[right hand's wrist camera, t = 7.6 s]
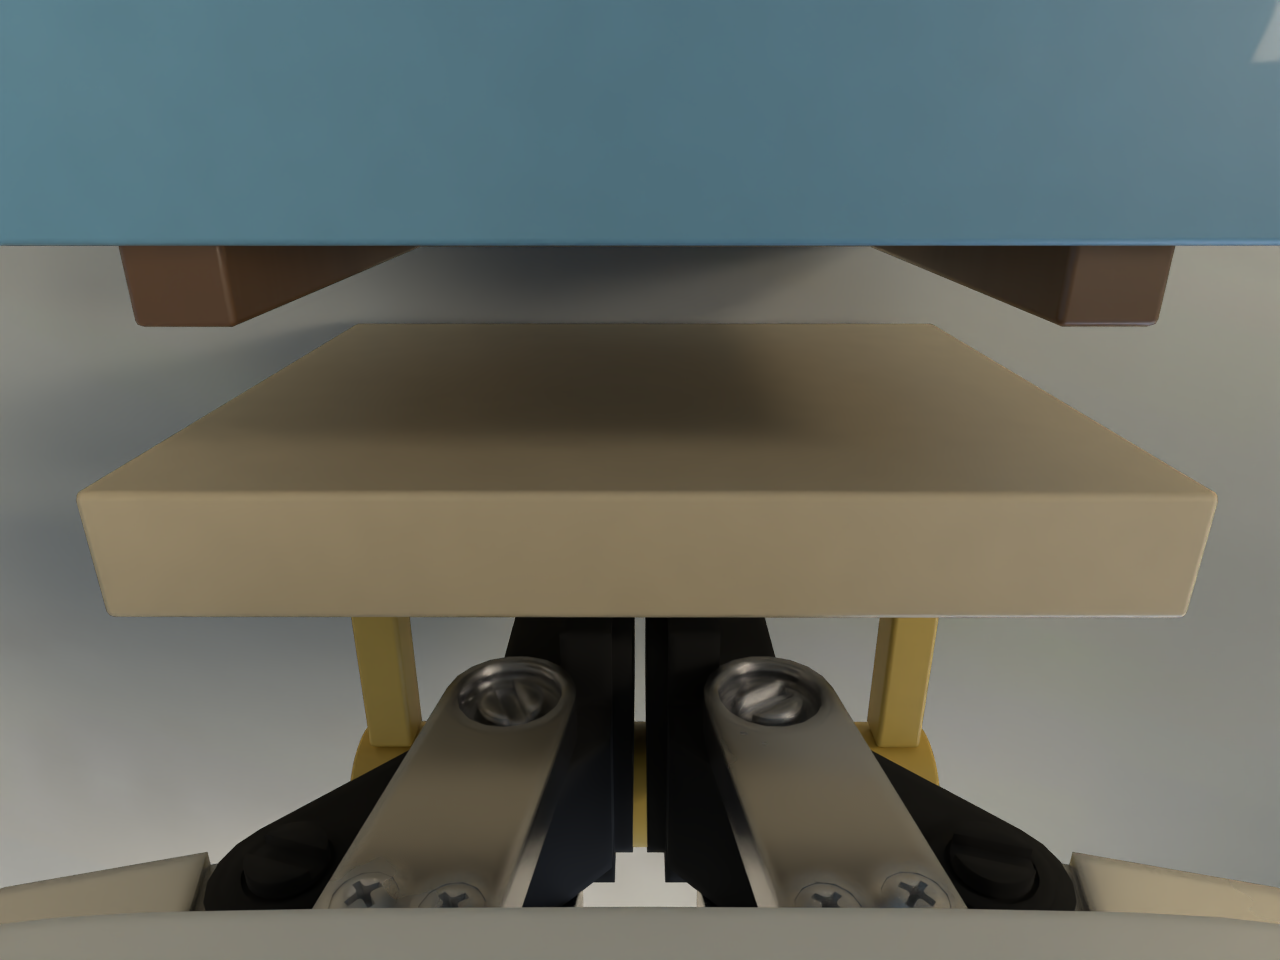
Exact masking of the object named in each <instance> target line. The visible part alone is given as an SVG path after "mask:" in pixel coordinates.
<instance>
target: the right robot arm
mask: <svg viewBox="0 0 1280 960" xmlns="http://www.w3.org/2000/svg"><path fill="white" fill-rule="evenodd" d="M634 689H635V617H515V621H514V624H513V628H512V632H511V636H510V639H509V643H508V647H507V650H506V654H505V657H504V658H499V659H493V660H489V661H486V662H484V663H481V664H478V665H476V666H473V667H471V668H469V669H468V670H466V671H465V672H463V673H462V674H460V675H458V676H457V677H456V678H455V680H454V681H453V682H452V683H451V684H450V685H449V686H448V687H447V689H446V691H445V692H444V694H443V696H442V697H441V699H440V700H439V702H438V704H437V705H436V707H435V709H434V710H433V712H432V714H431V715H430V717H429V718H428V720H427V722H426V723H425V725H424V727H423V728H422V730H421V732H420V733H419V735H418V736H417V738H416V740H415V741H414V743H413V745H412V746H411V748H410V750H408V751H406V752H404V753H402V754H401V755H399V756H397V757H395V758H393V759H391V760H389V761H387V762H386V763H384V764H382V765H380V766H378V767H376V768H374V769H372V770H371V771H369V772H367V773H365V774H363V775H361V776H359V777H357V778H355V779H354V780H352V781H350V782H348V783H346V784H344V785H342V786H340V787H339V788H337V789H335V790H333V791H331V792H329V793H327V794H325V795H324V796H322V797H320V798H318V799H316V800H314V801H312V802H310V803H309V804H307V805H305V806H303V807H301V808H299V809H297V810H295V811H294V812H292V813H290V814H288V815H286V816H284V817H282V818H280V819H279V820H277V821H275V822H273V823H271V824H269V825H267V826H265V827H264V828H262V829H260V830H258V831H257V832H255V833H254V834H252V835H250V836H249V837H247V838H246V839H244V840H243V841H241V842H240V843H238V844H237V845H236V846H235V847H234V848H233V849H232V850H231V851H230V852H229V853H228V854H227V855H226V856H225V857H224V858H223V859H222V860H221V861H220V862H219V863H218V864H213V865H211V864H210V860H209V856H208V852H204V853H198V854H193V855H187V856H181V857H175V858H170V859H164V860H158V861H152V862H147V863H141V864H135V865H129V866H124V867H118V868H112V869H106V870H101V871H95V872H89V873H84V874H78V875H72V876H66V877H61V878H55V879H49V880H43V881H38V882H32V883H26V884H20V885H15V886H9V887H4V888H1V889H0V960H1280V889H1279V888H1276V887H1271V886H1265V885H1260V884H1254V883H1248V882H1242V881H1237V880H1231V879H1225V878H1219V877H1214V876H1208V875H1202V874H1196V873H1191V872H1185V871H1179V870H1174V869H1168V868H1162V867H1156V866H1151V865H1145V864H1139V863H1133V862H1128V861H1122V860H1116V859H1110V858H1105V857H1099V856H1093V855H1087V854H1082V853H1076V852H1072V856H1071V860H1070V864H1069V865H1067V864H1062V863H1061V862H1060V861H1059V860H1058V859H1057V858H1056V857H1055V856H1054V855H1053V854H1052V853H1051V852H1050V851H1049V850H1048V849H1047V848H1046V847H1045V846H1044V845H1043V844H1042V843H1040V842H1039V841H1037V840H1036V839H1034V838H1033V837H1031V836H1030V835H1028V834H1026V833H1025V832H1023V831H1022V830H1020V829H1018V828H1016V827H1015V826H1013V825H1011V824H1009V823H1007V822H1005V821H1003V820H1001V819H1000V818H998V817H996V816H994V815H992V814H990V813H988V812H986V811H985V810H983V809H981V808H979V807H977V806H975V805H973V804H971V803H970V802H968V801H966V800H964V799H962V798H960V797H958V796H956V795H955V794H953V793H951V792H949V791H947V790H945V789H943V788H941V787H940V786H938V785H936V784H934V783H932V782H930V781H928V780H926V779H925V778H923V777H921V776H919V775H917V774H915V773H913V772H911V771H909V770H908V769H906V768H904V767H902V766H900V765H898V764H896V763H894V762H893V761H891V760H889V759H887V758H885V757H883V756H881V755H879V754H878V753H876V752H874V751H872V750H870V748H869V746H868V745H867V743H866V741H865V740H864V738H863V736H862V735H861V733H860V732H859V730H858V728H857V727H856V725H855V723H854V722H853V720H852V718H851V717H850V715H849V714H848V712H847V710H846V709H845V707H844V705H843V704H842V702H841V700H840V699H839V697H838V696H837V694H836V692H835V691H834V689H833V687H832V686H831V685H830V684H829V683H828V682H827V681H826V680H825V678H824V677H823V676H822V675H820V674H818V673H817V672H815V671H814V670H812V669H811V668H809V667H807V666H804V665H802V664H799V663H796V662H794V661H791V660H787V659H781V658H776V657H775V654H774V651H773V647H772V643H771V639H770V636H769V632H768V628H767V625H766V621H765V617H645V690H646V786H647V852H664V857H665V882H687V883H688V884H690V885H691V886H692V887H693V888H695V889H696V890H697V907H583V890H584V889H585V888H587V887H588V886H589V885H590V884H592V883H593V882H615V857H616V852H633V786H634Z"/></svg>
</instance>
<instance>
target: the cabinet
mask: <svg viewBox="0 0 1280 960" xmlns="http://www.w3.org/2000/svg"><path fill="white" fill-rule="evenodd" d="M0 246H1280V0H0Z"/></svg>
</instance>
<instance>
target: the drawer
mask: <svg viewBox="0 0 1280 960" xmlns="http://www.w3.org/2000/svg"><path fill="white" fill-rule="evenodd" d="M418 247H545V246H119V250H120V255H121V259H122V263H123V268H124V272H125V277H126V281H127V285H128V290H129V294H130V299H131V303H132V308H133V312H134V316H135V321H136V322H137V324H138V325H141V326H144V327H233V326H235V325H238V324H240V323H242V322H245V321H247V320H249V319H252V318H254V317H257V316H259V315H261V314H264V313H266V312H268V311H271V310H273V309H275V308H278V307H280V306H282V305H285V304H287V303H289V302H292V301H294V300H296V299H299V298H301V297H303V296H306V295H308V294H310V293H313V292H315V291H317V290H320V289H322V288H325V287H327V286H329V285H332V284H334V283H336V282H339V281H341V280H343V279H346V278H348V277H350V276H353V275H355V274H357V273H360V272H362V271H364V270H367V269H369V268H371V267H374V266H376V265H378V264H381V263H383V262H385V261H388V260H390V259H393V258H395V257H397V256H400V255H402V254H404V253H407V252H409V251H411V250H414V249H416V248H418ZM870 247H872V248H875V249H877V250H880V251H882V252H884V253H887V254H889V255H892V256H894V257H896V258H899V259H901V260H904V261H906V262H908V263H911V264H913V265H916V266H918V267H920V268H923V269H925V270H928V271H930V272H932V273H935V274H937V275H940V276H942V277H944V278H947V279H949V280H952V281H954V282H956V283H959V284H961V285H964V286H966V287H968V288H971V289H973V290H976V291H978V292H980V293H983V294H985V295H988V296H990V297H992V298H995V299H997V300H1000V301H1002V302H1004V303H1007V304H1009V305H1012V306H1014V307H1016V308H1019V309H1021V310H1024V311H1026V312H1028V313H1031V314H1033V315H1036V316H1038V317H1040V318H1043V319H1045V320H1048V321H1050V322H1052V323H1055V324H1057V325H1060V326H1062V327H1147V326H1150V325H1153V324H1156V322H1157V320H1158V318H1159V314H1160V309H1161V305H1162V301H1163V296H1164V292H1165V288H1166V284H1167V279H1168V275H1169V271H1170V266H1171V262H1172V258H1173V253H1174V249H1175V246H870ZM76 502H77V505H78V509H79V513H80V516H81V520H82V524H83V527H84V531H85V534H86V538H87V542H88V545H89V549H90V553H91V556H92V560H93V563H94V567H95V571H96V574H97V578H98V582H99V585H100V589H101V592H102V596H103V600H104V603H105V607H106V611H107V612H108V613H109V615H111V616H114V617H351V619H352V626H353V632H354V639H355V646H356V652H357V659H358V666H359V672H360V679H361V686H362V692H363V699H364V706H365V712H366V719H367V726H368V727H367V729H366V730H365V732H364V734H363V736H362V738H361V740H360V743H359V746H358V748H357V752H356V755H355V759H354V763H353V768H352V774H351V781H352V780H354V779H355V778H357V777H359V776H361V775H363V774H365V773H367V772H369V771H371V770H372V769H374V768H376V767H378V766H380V765H382V764H384V763H386V762H387V761H389V760H391V759H393V758H395V757H397V756H399V755H401V754H402V753H404V752H406V751H408V750H410V748H411V746H412V745H413V743H414V741H415V740H416V738H417V736H418V735H419V733H420V732H421V730H422V728H423V727H424V725H425V723H426V722H427V721H422V717H421V708H420V700H419V692H418V683H417V675H416V667H415V658H414V650H413V642H412V633H411V625H410V617H819V618H880V620H879V628H878V636H877V644H876V653H875V661H874V669H873V677H872V685H871V693H870V701H869V709H868V717H867V722H854V723H855V725H856V727H857V728H858V730H859V732H860V733H861V735H862V736H863V738H864V740H865V741H866V743H867V745H868V746H869V748H870V750H872V751H874V752H876V753H878V754H879V755H881V756H883V757H885V758H887V759H889V760H891V761H893V762H894V763H896V764H898V765H900V766H902V767H904V768H906V769H908V770H909V771H911V772H913V773H915V774H917V775H919V776H921V777H923V778H925V779H926V780H928V781H930V782H932V783H934V784H936V785H938V786H939V779H938V773H937V767H936V763H935V759H934V755H933V752H932V749H931V746H930V743H929V740H928V738H927V736H926V734H925V732H924V731H923V729H922V722H923V716H924V709H925V703H926V696H927V690H928V683H929V677H930V670H931V664H932V657H933V651H934V644H935V638H936V631H937V625H938V618H1180V617H1183V616H1184V615H1185V614H1186V613H1187V610H1188V606H1189V602H1190V599H1191V595H1192V592H1193V588H1194V585H1195V581H1196V578H1197V574H1198V570H1199V567H1200V563H1201V560H1202V556H1203V553H1204V549H1205V546H1206V542H1207V539H1208V535H1209V531H1210V528H1211V524H1212V521H1213V517H1214V514H1215V510H1216V507H1217V503H1218V498H1217V495H1216V493H1215V492H1213V491H1211V490H1210V489H1208V488H1206V487H1205V486H1203V485H1201V484H1200V483H1198V482H1196V481H1195V480H1193V479H1191V478H1190V477H1188V476H1186V475H1185V474H1183V473H1181V472H1180V471H1178V470H1176V469H1174V468H1173V467H1171V466H1169V465H1168V464H1166V463H1164V462H1163V461H1161V460H1159V459H1158V458H1156V457H1154V456H1153V455H1151V454H1149V453H1148V452H1146V451H1144V450H1143V449H1141V448H1139V447H1138V446H1136V445H1134V444H1133V443H1131V442H1129V441H1127V440H1126V439H1124V438H1122V437H1121V436H1119V435H1117V434H1116V433H1114V432H1112V431H1111V430H1109V429H1107V428H1106V427H1104V426H1102V425H1101V424H1099V423H1097V422H1096V421H1094V420H1092V419H1091V418H1089V417H1087V416H1086V415H1084V414H1082V413H1080V412H1079V411H1077V410H1075V409H1074V408H1072V407H1070V406H1069V405H1067V404H1065V403H1064V402H1062V401H1060V400H1059V399H1057V398H1055V397H1054V396H1052V395H1050V394H1049V393H1047V392H1045V391H1044V390H1042V389H1040V388H1039V387H1037V386H1035V385H1033V384H1032V383H1030V382H1028V381H1027V380H1025V379H1023V378H1022V377H1020V376H1018V375H1017V374H1015V373H1013V372H1012V371H1010V370H1008V369H1007V368H1005V367H1003V366H1002V365H1000V364H998V363H997V362H995V361H993V360H992V359H990V358H988V357H986V356H985V355H983V354H981V353H980V352H978V351H976V350H975V349H973V348H971V347H970V346H968V345H966V344H965V343H963V342H961V341H960V340H958V339H956V338H955V337H953V336H951V335H950V334H948V333H946V332H945V331H943V330H941V329H939V328H938V327H936V326H934V325H932V324H357V325H355V326H353V327H351V328H350V329H348V330H346V331H345V332H343V333H342V334H340V335H338V336H337V337H335V338H333V339H332V340H330V341H328V342H327V343H325V344H323V345H322V346H320V347H318V348H317V349H315V350H313V351H312V352H310V353H308V354H307V355H305V356H303V357H302V358H300V359H298V360H297V361H295V362H293V363H292V364H290V365H288V366H287V367H285V368H283V369H282V370H280V371H279V372H277V373H275V374H274V375H272V376H270V377H269V378H267V379H265V380H264V381H262V382H260V383H259V384H257V385H255V386H254V387H252V388H250V389H249V390H247V391H245V392H244V393H242V394H240V395H239V396H237V397H235V398H234V399H232V400H230V401H229V402H227V403H225V404H224V405H222V406H220V407H219V408H217V409H216V410H214V411H212V412H211V413H209V414H207V415H206V416H204V417H202V418H201V419H199V420H197V421H196V422H194V423H192V424H191V425H189V426H187V427H186V428H184V429H182V430H181V431H179V432H177V433H176V434H174V435H172V436H171V437H169V438H167V439H166V440H164V441H162V442H161V443H159V444H157V445H156V446H154V447H153V448H151V449H149V450H148V451H146V452H144V453H143V454H141V455H139V456H138V457H136V458H134V459H133V460H131V461H129V462H128V463H126V464H124V465H123V466H121V467H119V468H118V469H116V470H114V471H113V472H111V473H109V474H108V475H106V476H104V477H103V478H101V479H99V480H98V481H96V482H94V483H93V484H91V485H90V486H88V487H86V488H85V489H83V490H81V491H80V492H78V494H77V498H76ZM633 847H647V786H646V722H634V786H633Z"/></svg>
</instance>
